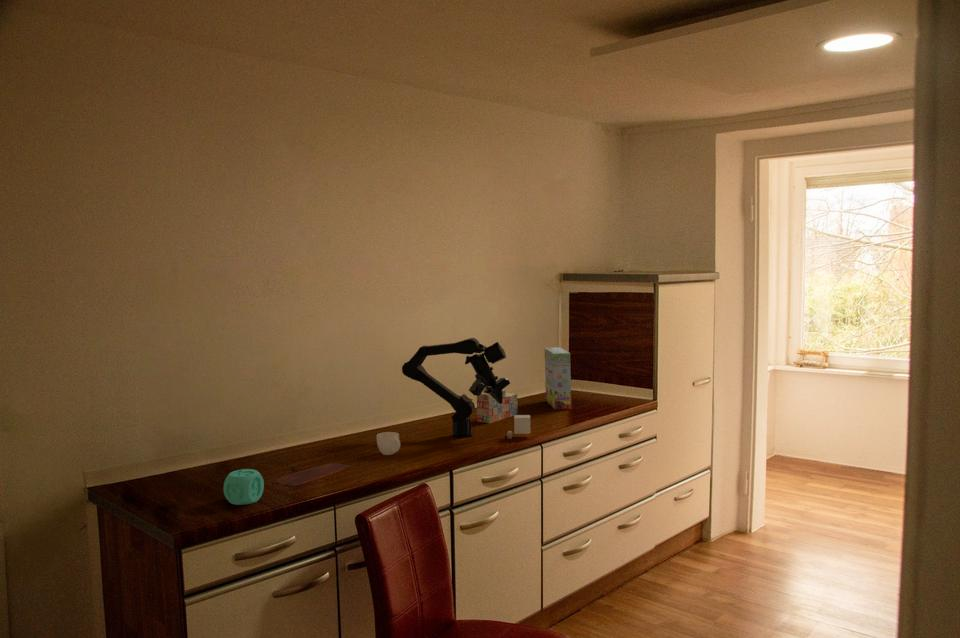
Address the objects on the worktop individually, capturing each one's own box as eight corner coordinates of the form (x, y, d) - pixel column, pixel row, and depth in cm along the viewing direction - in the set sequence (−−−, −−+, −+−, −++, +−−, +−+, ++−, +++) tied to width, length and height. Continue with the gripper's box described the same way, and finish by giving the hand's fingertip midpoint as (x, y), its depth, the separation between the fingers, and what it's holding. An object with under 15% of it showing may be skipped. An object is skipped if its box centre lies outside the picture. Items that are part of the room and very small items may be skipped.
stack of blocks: (506, 413, 327) (505, 385, 326) (517, 415, 324) (517, 387, 323) (476, 422, 310) (476, 392, 309) (488, 423, 306) (488, 394, 305)
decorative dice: (240, 495, 215) (239, 468, 214) (264, 497, 213) (263, 470, 212) (223, 503, 207) (222, 475, 207) (248, 506, 205) (247, 477, 204)
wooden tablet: (294, 489, 222) (294, 484, 221) (271, 484, 227) (271, 479, 227) (355, 468, 244) (355, 463, 244) (332, 463, 249) (332, 458, 249)
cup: (389, 449, 265) (389, 430, 265) (408, 454, 259) (407, 435, 258) (372, 453, 260) (372, 434, 259) (391, 458, 253) (390, 439, 252)
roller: (507, 433, 279) (506, 438, 279) (512, 435, 279) (511, 440, 279) (507, 430, 285) (506, 435, 285) (512, 431, 285) (511, 436, 285)
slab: (514, 433, 279) (514, 417, 279) (514, 430, 284) (514, 415, 284) (530, 433, 279) (530, 417, 279) (530, 430, 284) (530, 415, 284)
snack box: (543, 401, 354) (543, 347, 352) (561, 400, 355) (561, 347, 353) (553, 410, 333) (553, 352, 331) (572, 409, 334) (572, 352, 332)
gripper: (454, 380, 287) (473, 414, 290) (478, 380, 270) (498, 416, 273) (476, 364, 292) (494, 398, 295) (500, 364, 275) (520, 399, 278)
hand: (501, 403), depth 285 cm, fingers closed
